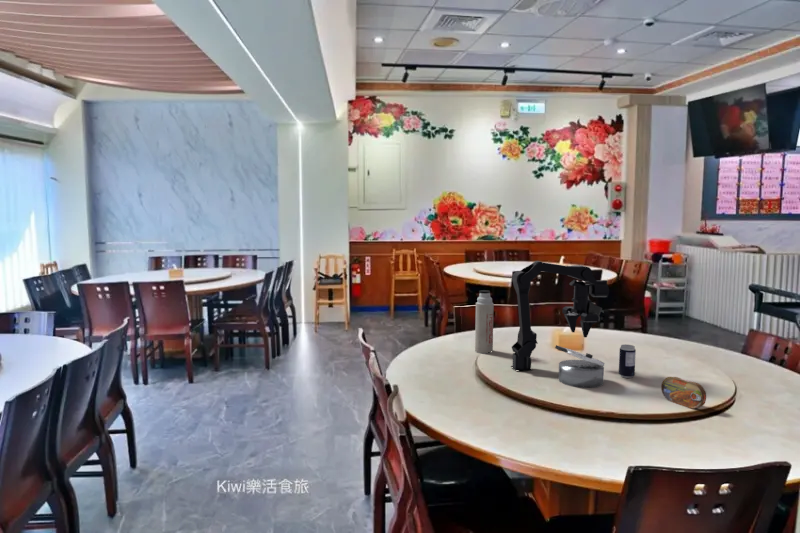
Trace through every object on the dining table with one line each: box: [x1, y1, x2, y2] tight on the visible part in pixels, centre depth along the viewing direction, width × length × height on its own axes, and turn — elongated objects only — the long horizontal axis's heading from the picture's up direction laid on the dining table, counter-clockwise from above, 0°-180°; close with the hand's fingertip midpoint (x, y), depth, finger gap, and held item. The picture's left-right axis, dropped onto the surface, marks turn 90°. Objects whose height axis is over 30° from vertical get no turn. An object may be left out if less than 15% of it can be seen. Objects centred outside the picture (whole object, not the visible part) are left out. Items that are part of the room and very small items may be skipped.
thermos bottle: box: [474, 289, 494, 354], centre depth 246 cm, size 8×8×28 cm
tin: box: [660, 376, 707, 410], centre depth 179 cm, size 15×3×8 cm, turn 25°
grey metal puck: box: [558, 359, 605, 389], centre depth 203 cm, size 16×16×6 cm
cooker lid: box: [554, 344, 605, 367], centre depth 202 cm, size 19×16×2 cm
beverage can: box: [618, 344, 637, 379], centre depth 209 cm, size 6×6×12 cm
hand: (579, 334), depth 220 cm, fingers open, 9 cm apart
